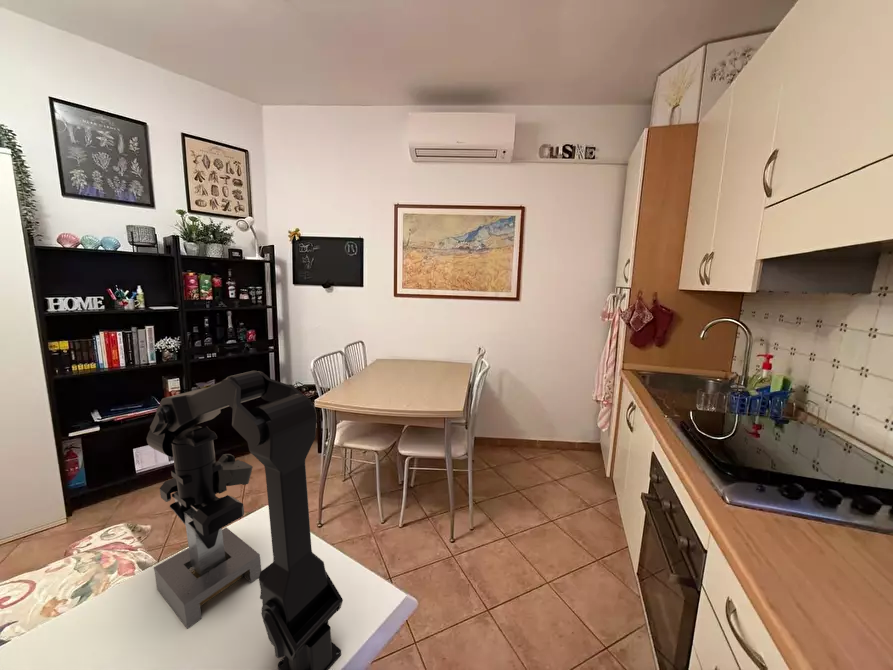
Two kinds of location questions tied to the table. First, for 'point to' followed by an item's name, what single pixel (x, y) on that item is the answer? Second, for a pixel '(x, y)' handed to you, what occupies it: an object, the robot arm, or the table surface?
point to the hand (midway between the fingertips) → (205, 542)
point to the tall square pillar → (203, 548)
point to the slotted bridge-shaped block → (204, 577)
